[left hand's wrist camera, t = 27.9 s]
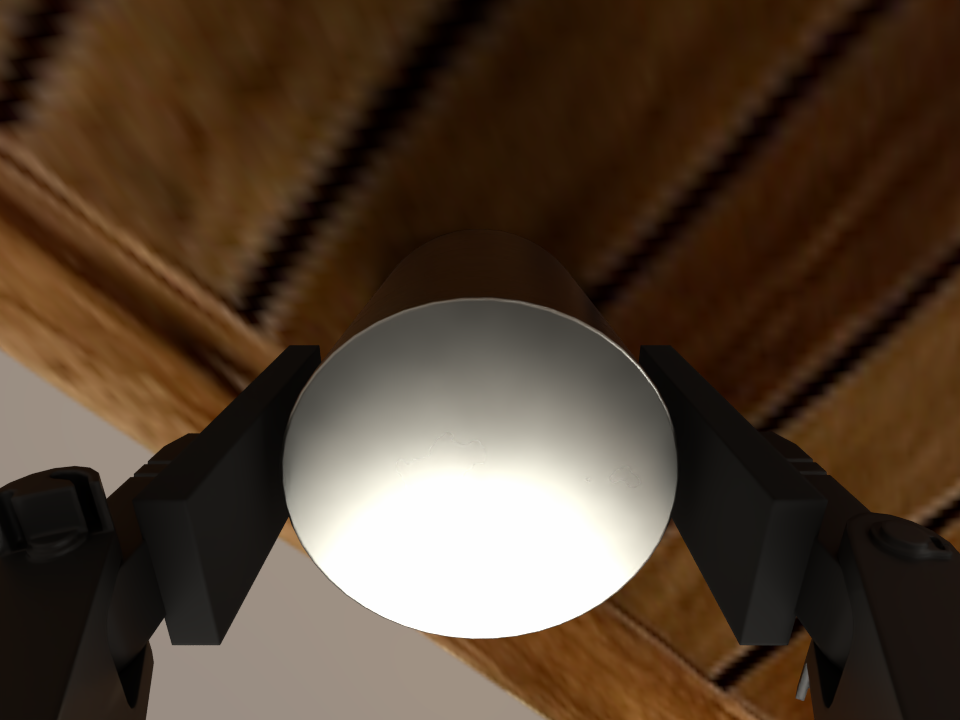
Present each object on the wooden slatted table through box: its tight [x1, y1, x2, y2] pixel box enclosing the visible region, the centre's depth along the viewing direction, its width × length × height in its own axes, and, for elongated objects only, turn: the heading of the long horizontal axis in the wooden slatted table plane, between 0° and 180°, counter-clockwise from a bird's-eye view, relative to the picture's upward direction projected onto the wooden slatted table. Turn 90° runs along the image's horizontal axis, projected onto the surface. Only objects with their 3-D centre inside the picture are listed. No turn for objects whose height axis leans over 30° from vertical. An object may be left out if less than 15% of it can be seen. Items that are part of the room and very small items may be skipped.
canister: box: [281, 229, 680, 639], centre depth 14 cm, size 7×7×9 cm
